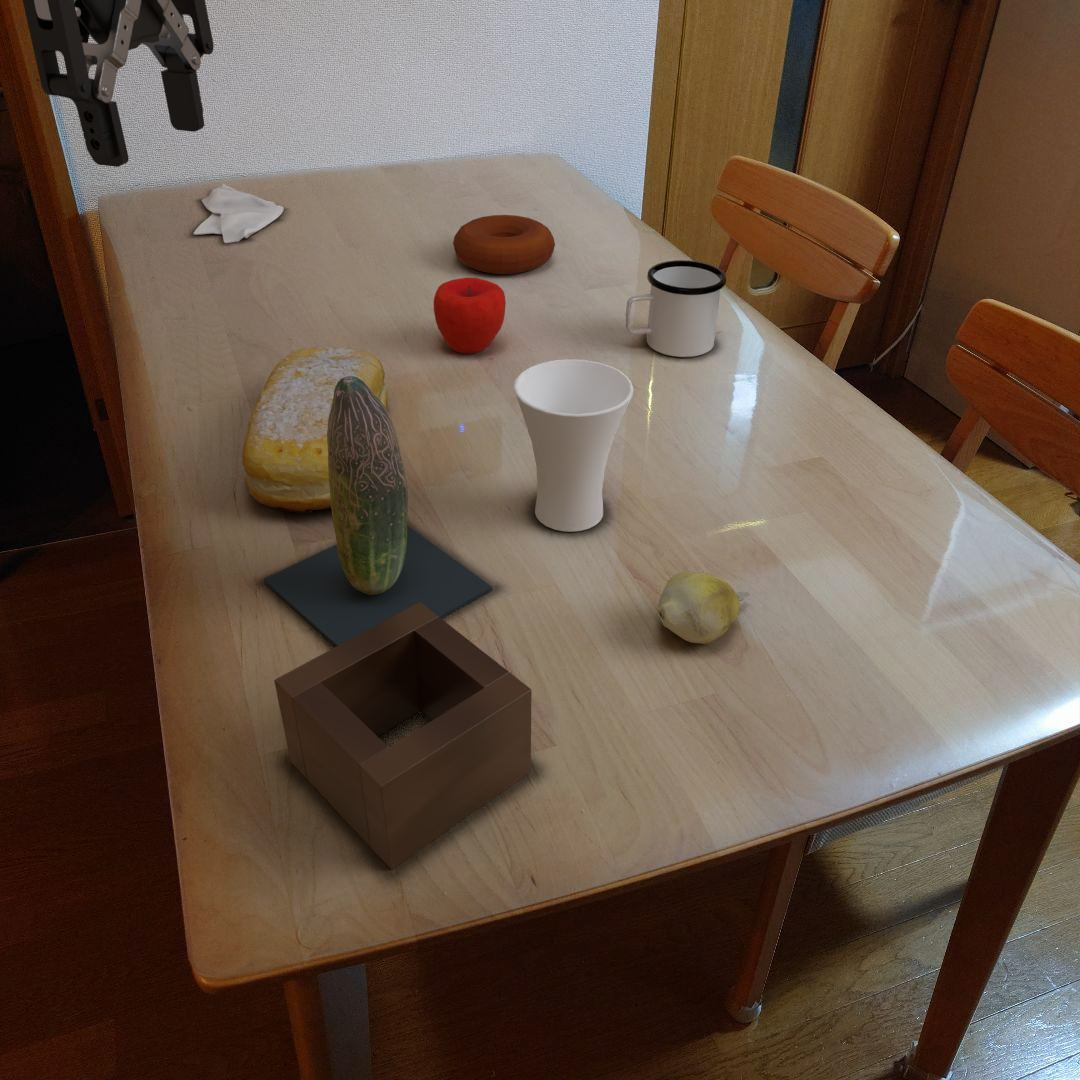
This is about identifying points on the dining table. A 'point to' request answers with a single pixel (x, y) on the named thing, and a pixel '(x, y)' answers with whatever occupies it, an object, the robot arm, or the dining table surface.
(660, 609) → the fruit
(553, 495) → the cup
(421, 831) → the holder
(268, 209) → the cloth
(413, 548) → the mat
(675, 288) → the mug
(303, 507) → the bread
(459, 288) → the apple
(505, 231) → the donut
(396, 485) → the vegetable
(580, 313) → the dining table surface
